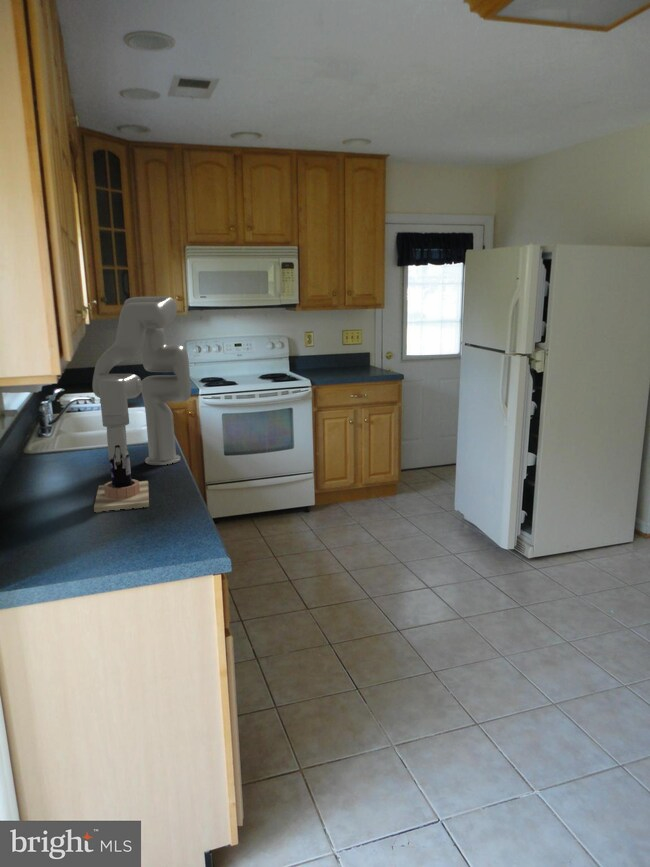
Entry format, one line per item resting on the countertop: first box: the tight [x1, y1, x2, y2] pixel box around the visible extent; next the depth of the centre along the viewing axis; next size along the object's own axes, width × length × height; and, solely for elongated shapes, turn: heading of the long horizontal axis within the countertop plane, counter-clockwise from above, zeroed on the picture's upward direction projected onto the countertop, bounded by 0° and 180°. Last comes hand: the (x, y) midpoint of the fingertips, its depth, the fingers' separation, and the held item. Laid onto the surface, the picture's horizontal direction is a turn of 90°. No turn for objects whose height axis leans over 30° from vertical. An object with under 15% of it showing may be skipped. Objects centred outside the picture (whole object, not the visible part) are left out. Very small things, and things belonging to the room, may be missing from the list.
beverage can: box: [109, 450, 133, 488], centre depth 190 cm, size 6×6×12 cm
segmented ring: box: [103, 478, 140, 499], centre depth 191 cm, size 10×10×3 cm
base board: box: [93, 480, 150, 513], centre depth 191 cm, size 22×15×2 cm
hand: (121, 477), depth 190 cm, fingers closed on beverage can, 5 cm apart
